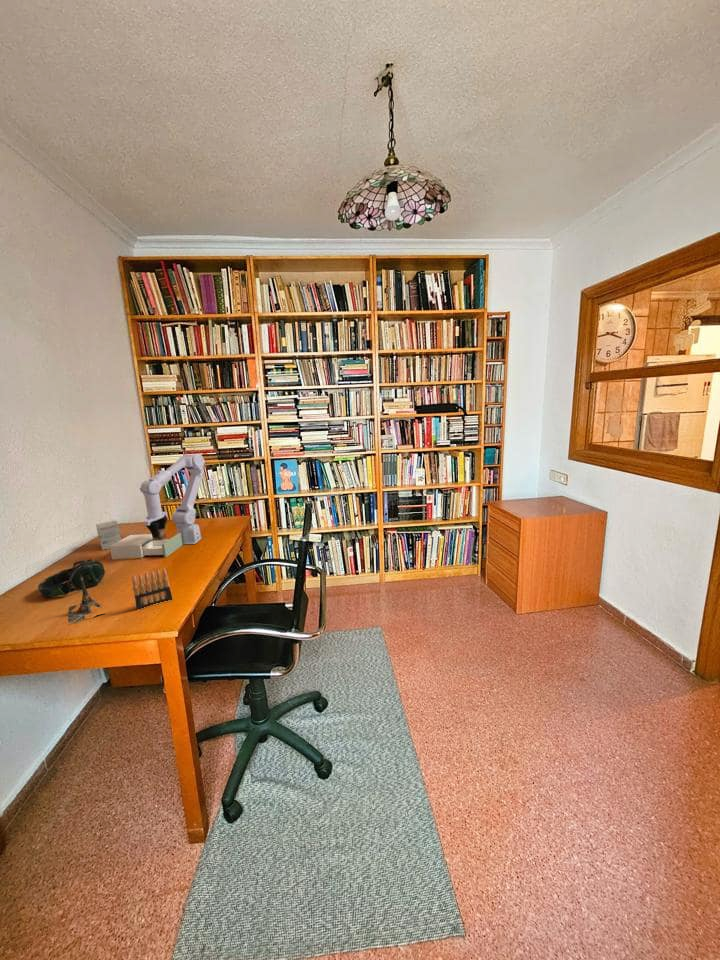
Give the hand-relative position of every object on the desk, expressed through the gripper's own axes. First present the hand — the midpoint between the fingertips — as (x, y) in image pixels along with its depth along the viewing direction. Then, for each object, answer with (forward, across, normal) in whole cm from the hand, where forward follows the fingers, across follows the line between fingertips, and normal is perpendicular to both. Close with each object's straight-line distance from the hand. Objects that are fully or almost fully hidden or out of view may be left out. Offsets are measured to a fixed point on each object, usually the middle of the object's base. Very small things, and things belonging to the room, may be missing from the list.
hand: (159, 535), depth 168 cm
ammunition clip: (+8, +45, +24) cm, 52 cm away
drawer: (+8, -1, -1) cm, 8 cm away
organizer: (+8, -1, -12) cm, 15 cm away
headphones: (+8, +32, -15) cm, 37 cm away
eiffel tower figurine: (+9, +48, +3) cm, 49 cm away
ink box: (+9, -11, -32) cm, 35 cm away
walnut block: (+2, 0, 0) cm, 2 cm away
